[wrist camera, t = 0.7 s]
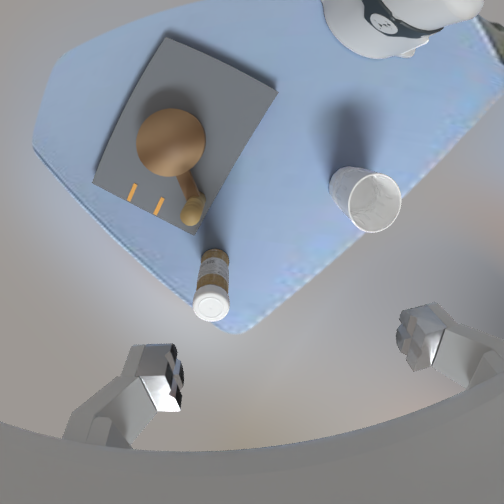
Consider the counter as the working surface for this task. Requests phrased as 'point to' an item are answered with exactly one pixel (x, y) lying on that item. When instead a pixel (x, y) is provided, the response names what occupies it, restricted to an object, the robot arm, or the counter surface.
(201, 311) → the sprinkles bottle
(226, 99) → the stand
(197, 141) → the dial
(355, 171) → the white cup
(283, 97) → the counter surface
